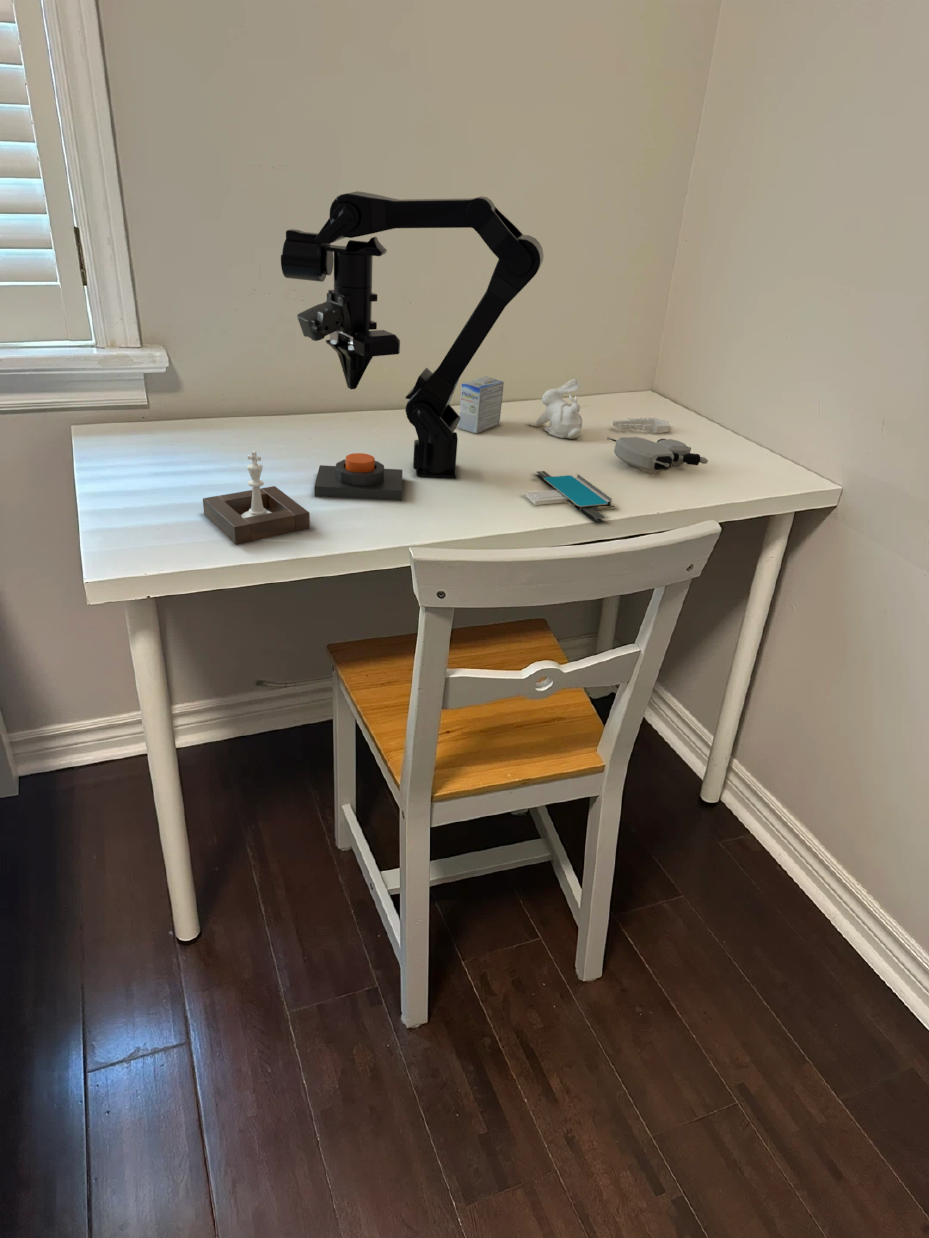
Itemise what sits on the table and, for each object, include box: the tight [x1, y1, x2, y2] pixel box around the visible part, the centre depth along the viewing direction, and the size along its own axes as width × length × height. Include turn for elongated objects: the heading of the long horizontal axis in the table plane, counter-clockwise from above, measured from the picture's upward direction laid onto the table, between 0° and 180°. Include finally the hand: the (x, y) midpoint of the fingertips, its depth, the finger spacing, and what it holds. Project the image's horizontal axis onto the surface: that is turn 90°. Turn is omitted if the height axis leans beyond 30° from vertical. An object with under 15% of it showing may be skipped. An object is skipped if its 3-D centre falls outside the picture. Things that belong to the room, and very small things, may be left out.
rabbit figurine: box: [529, 378, 584, 440], centre depth 163 cm, size 12×8×10 cm, turn 32°
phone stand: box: [524, 470, 616, 524], centre depth 135 cm, size 20×12×2 cm, turn 22°
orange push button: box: [345, 452, 376, 473], centre depth 131 cm, size 4×4×2 cm
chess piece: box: [240, 450, 272, 518], centre depth 117 cm, size 5×5×10 cm
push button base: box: [313, 458, 403, 502], centre depth 132 cm, size 13×9×4 cm
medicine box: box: [457, 376, 505, 434], centre depth 162 cm, size 8×4×9 cm, turn 144°
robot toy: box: [606, 436, 709, 475], centre depth 151 cm, size 12×4×15 cm
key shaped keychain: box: [612, 416, 670, 434], centre depth 170 cm, size 13×5×2 cm, turn 114°
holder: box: [202, 485, 311, 545], centre depth 118 cm, size 11×11×2 cm
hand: (351, 388), depth 137 cm, fingers closed
